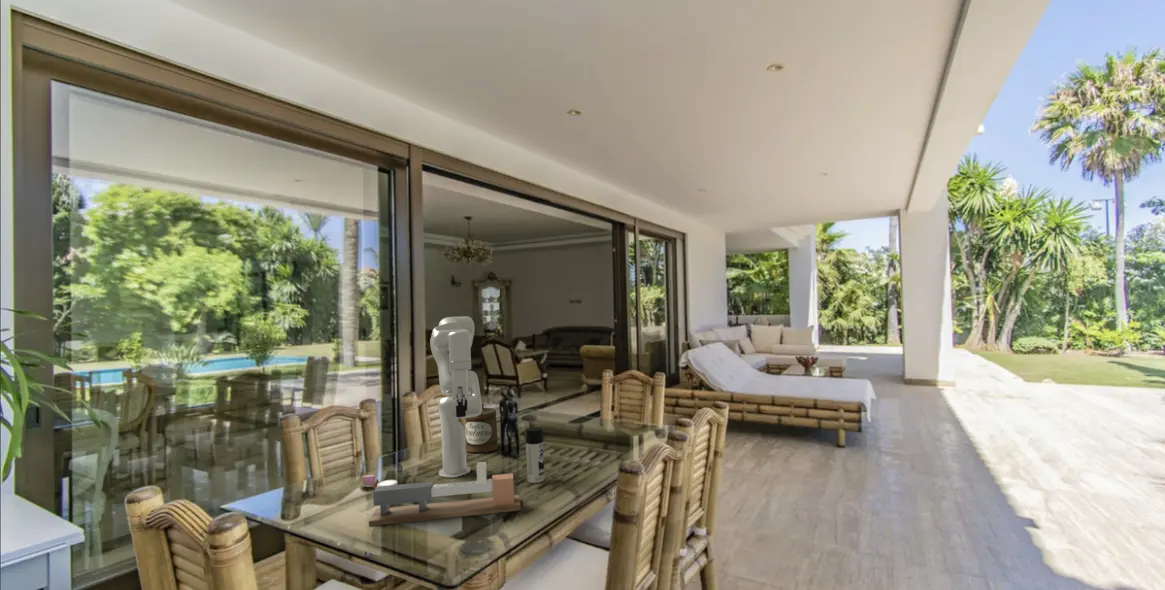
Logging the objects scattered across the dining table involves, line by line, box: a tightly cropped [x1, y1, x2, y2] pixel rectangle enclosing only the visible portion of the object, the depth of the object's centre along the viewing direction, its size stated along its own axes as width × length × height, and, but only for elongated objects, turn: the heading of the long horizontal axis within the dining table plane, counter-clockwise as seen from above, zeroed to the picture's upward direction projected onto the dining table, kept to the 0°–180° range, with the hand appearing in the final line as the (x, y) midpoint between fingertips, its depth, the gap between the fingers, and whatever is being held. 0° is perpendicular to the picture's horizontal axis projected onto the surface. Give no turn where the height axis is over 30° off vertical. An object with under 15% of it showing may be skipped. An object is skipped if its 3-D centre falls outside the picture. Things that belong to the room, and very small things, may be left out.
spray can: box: [524, 426, 546, 484], centre depth 200 cm, size 7×7×20 cm
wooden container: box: [464, 402, 499, 453], centre depth 245 cm, size 15×15×22 cm
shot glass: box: [377, 479, 398, 506], centre depth 183 cm, size 7×7×7 cm
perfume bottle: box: [361, 474, 380, 490], centre depth 200 cm, size 12×12×4 cm
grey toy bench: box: [372, 481, 433, 516], centre depth 171 cm, size 5×18×8 cm, turn 99°
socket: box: [491, 472, 515, 506], centre depth 176 cm, size 5×7×8 cm
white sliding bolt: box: [431, 461, 493, 498], centre depth 174 cm, size 4×27×9 cm, turn 99°
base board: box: [368, 494, 522, 527], centre depth 173 cm, size 10×48×2 cm, turn 99°
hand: (462, 413), depth 184 cm, fingers open, 9 cm apart
